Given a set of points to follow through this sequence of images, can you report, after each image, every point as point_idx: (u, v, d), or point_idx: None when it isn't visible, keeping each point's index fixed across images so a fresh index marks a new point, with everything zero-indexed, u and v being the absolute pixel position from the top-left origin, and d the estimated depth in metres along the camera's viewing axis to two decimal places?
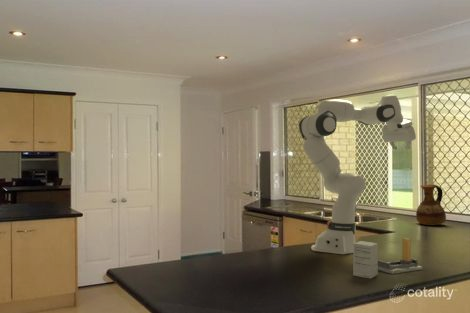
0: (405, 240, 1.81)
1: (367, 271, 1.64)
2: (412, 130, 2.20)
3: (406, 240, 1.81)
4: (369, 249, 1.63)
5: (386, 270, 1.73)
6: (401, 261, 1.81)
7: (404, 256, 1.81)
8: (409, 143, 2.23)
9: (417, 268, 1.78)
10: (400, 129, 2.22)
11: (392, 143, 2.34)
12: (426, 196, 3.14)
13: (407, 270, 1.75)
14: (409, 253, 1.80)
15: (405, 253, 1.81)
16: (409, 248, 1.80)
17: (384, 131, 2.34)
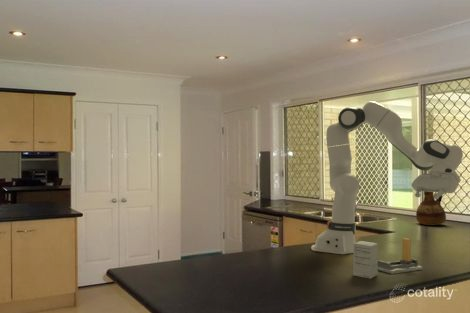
0: (405, 240, 1.81)
1: (367, 271, 1.64)
2: (456, 183, 1.83)
3: (406, 240, 1.81)
4: (369, 249, 1.63)
5: (386, 270, 1.73)
6: (401, 261, 1.81)
7: (404, 256, 1.81)
8: (441, 193, 1.83)
9: (417, 268, 1.78)
10: (446, 174, 1.86)
11: (418, 190, 1.94)
12: (426, 196, 3.14)
13: (407, 270, 1.75)
14: (409, 253, 1.80)
15: (405, 253, 1.81)
16: (409, 248, 1.80)
17: (421, 176, 1.97)
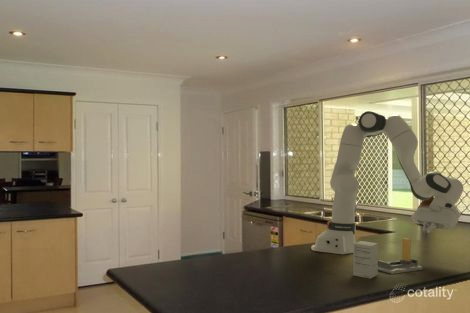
0: (405, 240, 1.81)
1: (367, 271, 1.64)
2: (456, 219, 1.83)
3: (406, 240, 1.81)
4: (369, 249, 1.63)
5: (386, 270, 1.73)
6: (401, 261, 1.81)
7: (404, 256, 1.81)
8: (433, 227, 1.87)
9: (417, 268, 1.78)
10: (446, 209, 1.86)
11: (426, 225, 1.90)
12: None
13: (407, 270, 1.75)
14: (409, 253, 1.80)
15: (405, 253, 1.81)
16: (409, 248, 1.80)
17: (421, 208, 1.97)
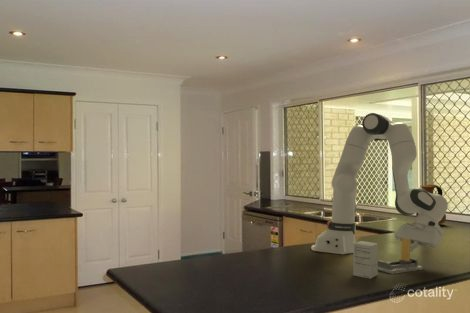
0: (404, 240, 1.81)
1: (367, 271, 1.64)
2: (439, 238, 1.77)
3: (405, 240, 1.81)
4: (369, 249, 1.63)
5: (386, 270, 1.73)
6: (400, 261, 1.81)
7: (404, 256, 1.81)
8: (416, 246, 1.81)
9: (417, 268, 1.78)
10: (429, 227, 1.80)
11: None
12: None
13: (407, 270, 1.75)
14: (408, 253, 1.80)
15: (405, 253, 1.81)
16: (408, 248, 1.80)
17: (404, 225, 1.92)
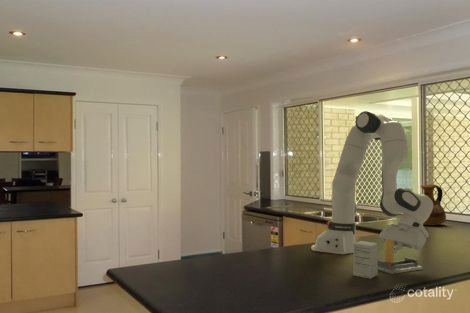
0: (388, 242, 1.77)
1: (367, 271, 1.64)
2: (424, 239, 1.73)
3: (389, 242, 1.76)
4: (370, 249, 1.63)
5: (386, 270, 1.73)
6: None
7: (387, 258, 1.77)
8: (400, 247, 1.77)
9: (417, 268, 1.78)
10: (413, 228, 1.76)
11: None
12: None
13: (407, 270, 1.75)
14: (392, 255, 1.76)
15: (388, 255, 1.76)
16: (392, 250, 1.76)
17: (389, 226, 1.87)
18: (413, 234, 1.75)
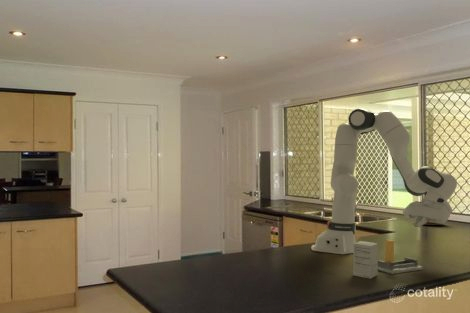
0: (388, 242, 1.77)
1: (367, 271, 1.64)
2: (448, 214, 1.80)
3: (389, 242, 1.76)
4: (370, 249, 1.63)
5: (386, 270, 1.73)
6: None
7: (387, 258, 1.77)
8: (424, 222, 1.84)
9: (417, 268, 1.78)
10: (438, 204, 1.83)
11: (417, 219, 1.87)
12: None
13: (407, 270, 1.75)
14: (392, 255, 1.76)
15: (388, 255, 1.76)
16: (392, 250, 1.76)
17: (413, 203, 1.94)
18: (437, 209, 1.82)
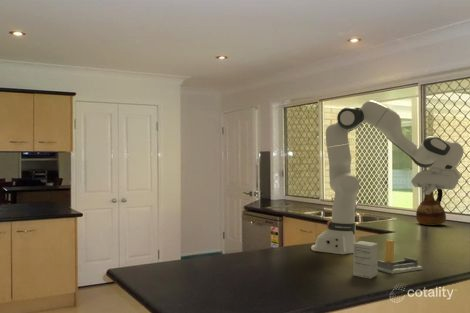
0: (388, 242, 1.77)
1: (367, 271, 1.64)
2: (456, 180, 1.82)
3: (389, 242, 1.76)
4: (369, 249, 1.63)
5: (386, 270, 1.73)
6: None
7: (387, 258, 1.77)
8: (433, 189, 1.86)
9: (417, 268, 1.78)
10: (446, 170, 1.85)
11: (426, 187, 1.90)
12: (426, 196, 3.14)
13: (407, 270, 1.75)
14: (392, 255, 1.76)
15: (388, 255, 1.76)
16: (392, 250, 1.76)
17: (421, 172, 1.97)
18: (446, 176, 1.85)
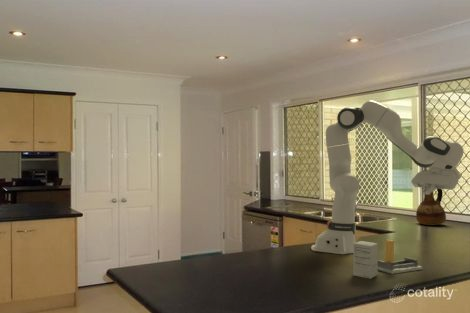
0: (388, 242, 1.77)
1: (367, 271, 1.64)
2: (456, 180, 1.82)
3: (389, 242, 1.76)
4: (369, 249, 1.63)
5: (386, 270, 1.73)
6: None
7: (387, 258, 1.77)
8: (433, 189, 1.86)
9: (417, 268, 1.78)
10: (446, 170, 1.85)
11: (426, 187, 1.90)
12: (426, 196, 3.14)
13: (407, 270, 1.75)
14: (392, 255, 1.76)
15: (388, 255, 1.76)
16: (392, 250, 1.76)
17: (421, 172, 1.97)
18: (446, 176, 1.85)
